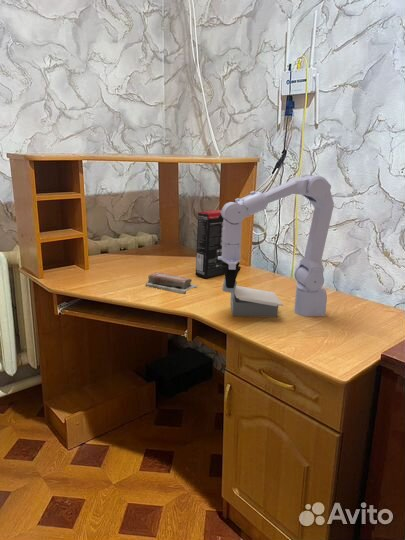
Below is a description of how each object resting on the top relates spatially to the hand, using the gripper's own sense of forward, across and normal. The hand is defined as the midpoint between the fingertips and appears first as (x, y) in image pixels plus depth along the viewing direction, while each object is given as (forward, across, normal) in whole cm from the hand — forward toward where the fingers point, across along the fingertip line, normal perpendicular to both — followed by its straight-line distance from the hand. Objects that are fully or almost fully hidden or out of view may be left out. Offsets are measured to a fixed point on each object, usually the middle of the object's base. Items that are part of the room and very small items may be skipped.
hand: (229, 286), depth 129 cm
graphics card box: (+11, -49, -3) cm, 50 cm away
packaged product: (+11, -30, -20) cm, 38 cm away
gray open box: (+10, -5, +8) cm, 14 cm away
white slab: (+4, -1, +6) cm, 7 cm away
